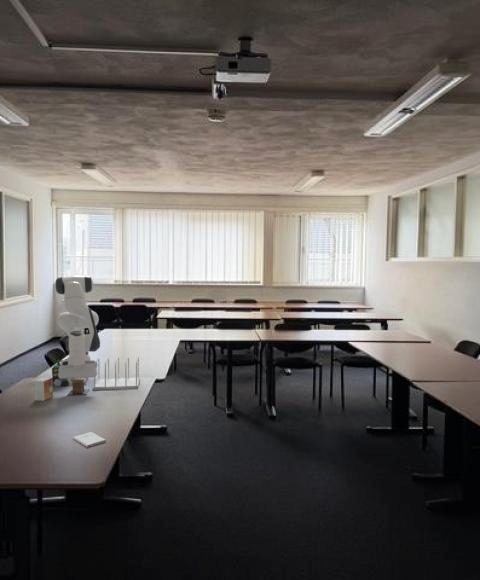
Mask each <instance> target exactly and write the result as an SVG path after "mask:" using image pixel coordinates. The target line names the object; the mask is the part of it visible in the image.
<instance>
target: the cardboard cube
mask: <svg viewBox="0 0 480 580" xmlns="http://www.w3.org/2000/svg"><path fill="white" fill-rule="evenodd" d="M83 382H85V378H73V379H72V386H71V387H72V389H71V390H73V393H83V392H84V389H85V386H83V385H84V384H83Z"/></svg>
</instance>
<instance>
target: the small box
mask: <svg viewBox="0 0 480 580" xmlns="http://www.w3.org/2000/svg"><path fill="white" fill-rule="evenodd" d="M53 389H54V387H53V379H52V377H47V376H46V377H44V376H43V377H41V378H39V379H36V380H34V400H35V401H40V402H42V401H43V402H45V401H46V400H49V399H51V398H53V397H54V390H53Z"/></svg>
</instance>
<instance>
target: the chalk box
mask: <svg viewBox="0 0 480 580" xmlns="http://www.w3.org/2000/svg"><path fill="white" fill-rule="evenodd" d="M62 360H63V359H59V360H58V359H57V360H56V363H55V364H54V365H53V366H52V367H51V374H52V375H51V376H52V377H51V378H52V379H53V388H54V387H69V386H70V383H69V381H68V378H63V379H60V378H59V377H58V373H59V368H60V366H61V365H60V362H61V361H62ZM72 381H73V378H71V382H72Z"/></svg>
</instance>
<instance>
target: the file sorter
mask: <svg viewBox="0 0 480 580" xmlns="http://www.w3.org/2000/svg"><path fill="white" fill-rule="evenodd" d="M95 361H96V362H97V368H98V369H97V376H98V377H97V379H96V377H93V382H94V383H93V387H92V391H99V390H100V391H101V390H103V391H104V390H105V391H106V390H130V389H131V390H132V389H133V390H134V389H135V390H137V389H139V386H140V381H141V378H140V376H139V375H140V373H139V370H140V368H139V365H140V363H139V361H140V360H139V356H137V358H136V360H135V361H136V362H135V377H130V358H129V356H128V357H127V358H126V359H125V362H124V366H125V367H124V368H125V369H124V371H125V374H124V376H125V377H123V378H122V377H121V378H120V358H119V357H117V358H116V360H115V361H114V362H115V364H114V378H113V377H112V378H110V360H109V357H107V358H106V360H105V362H104V378H100V358H97V359H96V360H95ZM117 367H118V368H117ZM107 374H108V375H107ZM117 374H118V375H117ZM107 376H108V377H107ZM117 376H118V377H117Z"/></svg>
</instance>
